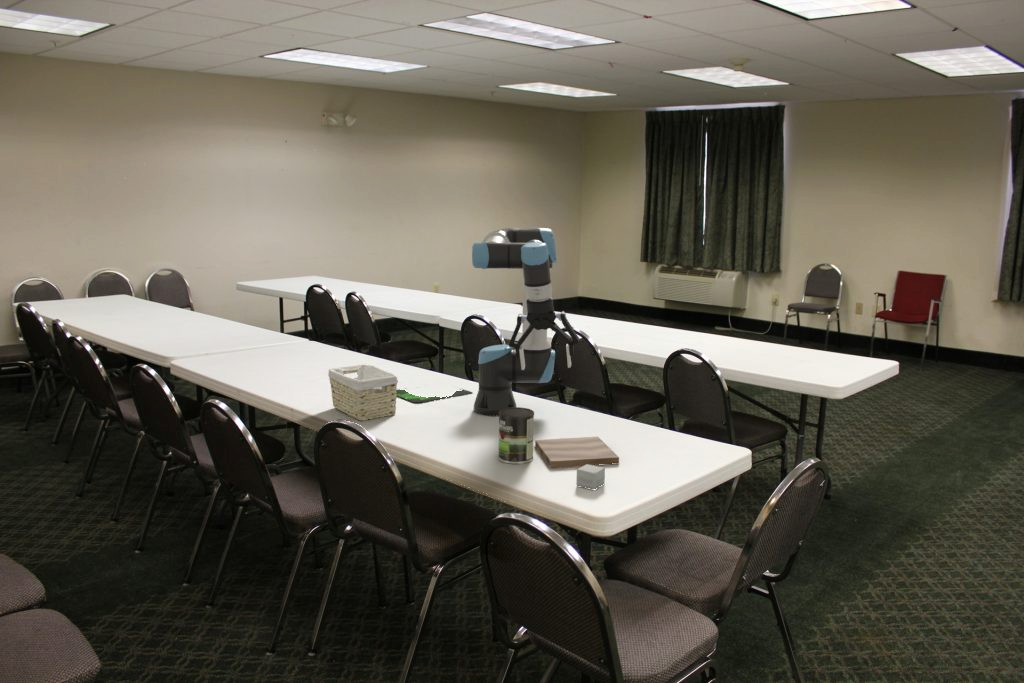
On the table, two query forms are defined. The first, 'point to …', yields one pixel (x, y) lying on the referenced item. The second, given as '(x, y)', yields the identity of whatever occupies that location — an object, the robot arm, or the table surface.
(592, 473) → the small box
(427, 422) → the table surface
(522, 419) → the coffee can
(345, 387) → the storage basket
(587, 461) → the walnut board
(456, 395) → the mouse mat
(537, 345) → the robot arm
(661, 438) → the table surface
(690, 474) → the table surface
